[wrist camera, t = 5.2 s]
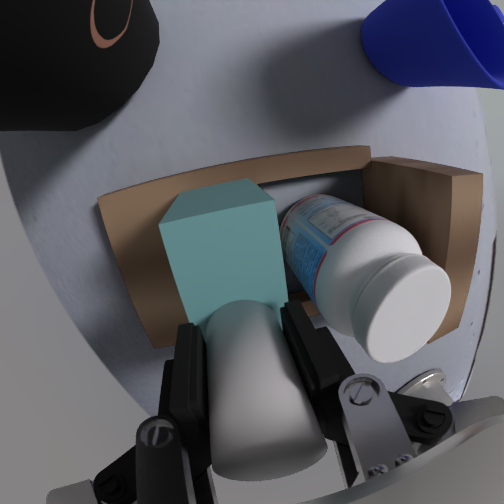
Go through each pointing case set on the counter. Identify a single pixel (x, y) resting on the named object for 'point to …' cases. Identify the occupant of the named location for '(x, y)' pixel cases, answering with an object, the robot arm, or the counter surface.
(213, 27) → the counter surface
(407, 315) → the pill bottle
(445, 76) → the mug
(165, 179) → the wooden tray
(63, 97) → the coffee jar
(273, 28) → the counter surface
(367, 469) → the robot arm
